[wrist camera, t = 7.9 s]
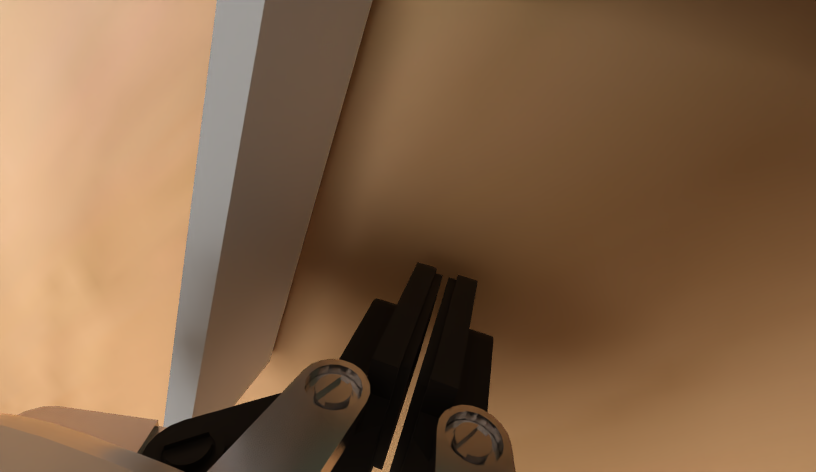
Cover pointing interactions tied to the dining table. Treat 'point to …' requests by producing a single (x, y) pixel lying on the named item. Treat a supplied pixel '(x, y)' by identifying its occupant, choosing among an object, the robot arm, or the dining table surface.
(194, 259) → the thin grey plank
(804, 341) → the dining table surface
